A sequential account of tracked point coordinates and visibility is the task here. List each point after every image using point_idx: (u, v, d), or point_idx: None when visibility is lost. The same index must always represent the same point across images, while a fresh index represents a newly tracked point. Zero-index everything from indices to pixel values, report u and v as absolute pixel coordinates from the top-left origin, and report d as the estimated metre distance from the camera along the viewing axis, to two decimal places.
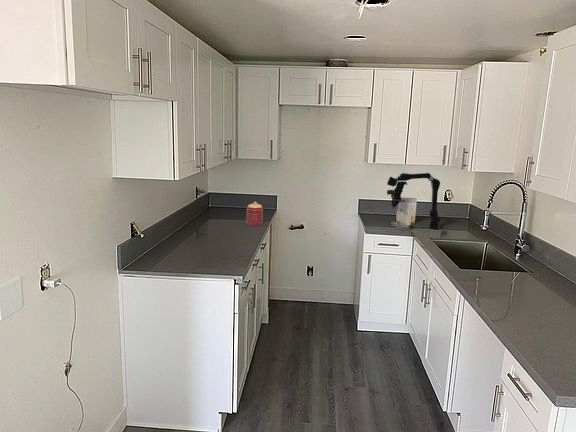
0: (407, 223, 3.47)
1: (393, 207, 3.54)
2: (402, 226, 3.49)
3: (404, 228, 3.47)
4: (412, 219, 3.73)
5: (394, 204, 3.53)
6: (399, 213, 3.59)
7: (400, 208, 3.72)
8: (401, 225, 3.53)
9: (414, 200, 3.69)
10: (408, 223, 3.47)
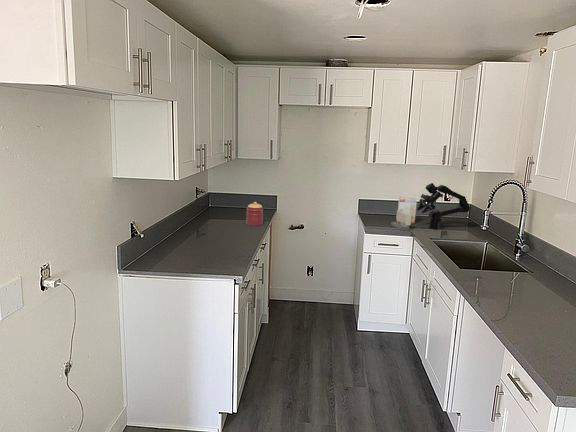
0: (407, 223, 3.47)
1: (422, 212, 3.49)
2: (402, 226, 3.49)
3: (404, 228, 3.47)
4: (412, 219, 3.73)
5: (425, 210, 3.48)
6: (399, 213, 3.59)
7: (400, 208, 3.72)
8: (401, 225, 3.53)
9: (414, 200, 3.69)
10: (408, 223, 3.47)
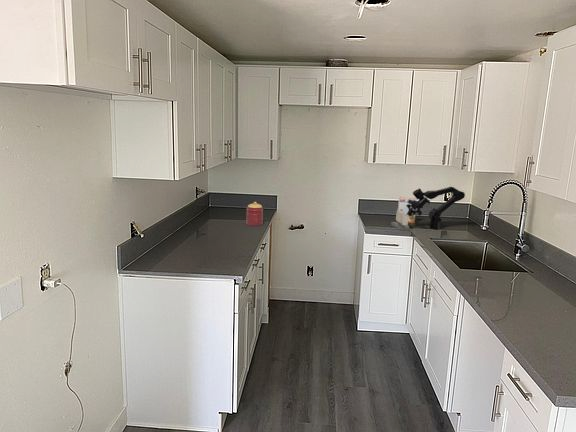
0: (404, 223, 3.47)
1: None
2: (402, 226, 3.49)
3: (404, 228, 3.47)
4: (412, 219, 3.73)
5: (409, 214, 3.52)
6: (398, 213, 3.59)
7: (400, 208, 3.72)
8: (401, 225, 3.53)
9: None
10: (405, 223, 3.47)
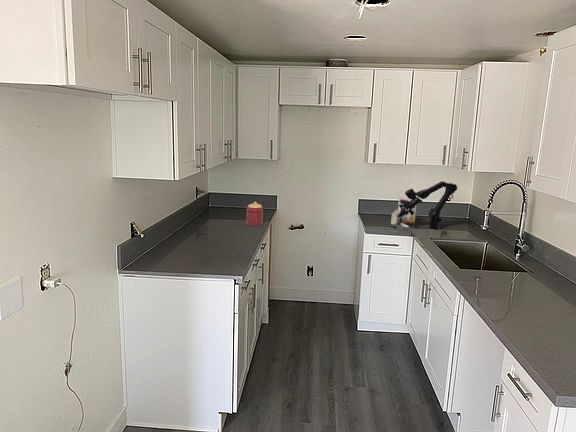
0: (392, 222, 3.50)
1: (398, 216, 3.52)
2: (402, 226, 3.49)
3: (404, 228, 3.47)
4: (412, 219, 3.73)
5: (401, 214, 3.51)
6: None
7: (400, 208, 3.72)
8: (401, 225, 3.53)
9: None
10: (394, 222, 3.49)
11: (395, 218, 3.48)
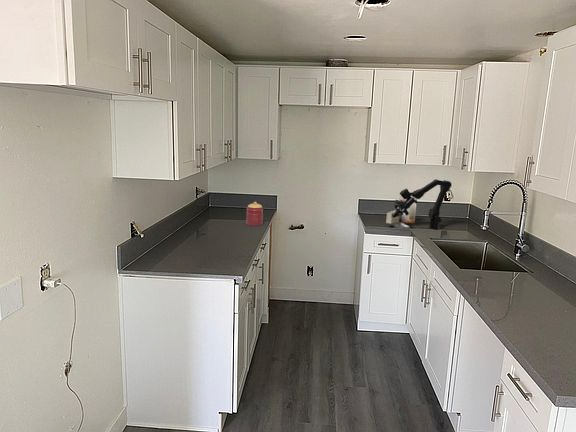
0: (388, 221, 3.52)
1: (393, 216, 3.51)
2: (402, 226, 3.49)
3: (404, 228, 3.47)
4: (412, 219, 3.73)
5: (396, 214, 3.50)
6: None
7: None
8: (401, 225, 3.53)
9: None
10: (389, 221, 3.51)
11: (390, 217, 3.50)
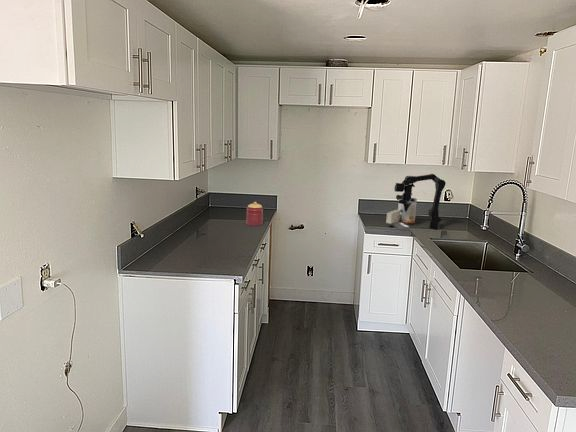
0: (388, 221, 3.52)
1: (405, 211, 3.54)
2: (402, 226, 3.49)
3: (404, 228, 3.47)
4: (412, 219, 3.73)
5: (405, 207, 3.53)
6: None
7: (400, 208, 3.72)
8: (401, 225, 3.53)
9: None
10: (389, 221, 3.51)
11: (390, 217, 3.50)
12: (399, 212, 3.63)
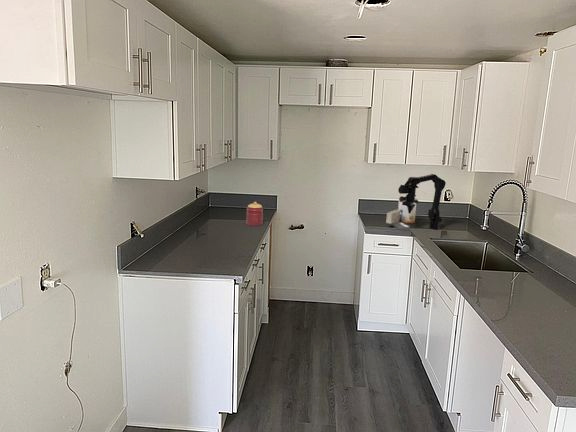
0: (388, 221, 3.52)
1: (409, 212, 3.48)
2: (402, 226, 3.49)
3: (404, 228, 3.47)
4: (412, 219, 3.73)
5: (409, 209, 3.47)
6: None
7: (400, 208, 3.72)
8: (401, 225, 3.53)
9: None
10: (389, 221, 3.51)
11: (390, 217, 3.50)
12: (399, 212, 3.63)
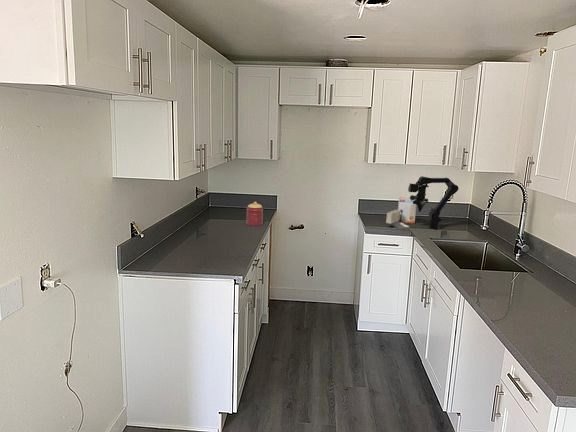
0: (388, 221, 3.52)
1: (419, 211, 3.55)
2: (402, 226, 3.49)
3: (404, 228, 3.47)
4: (412, 219, 3.73)
5: (419, 208, 3.54)
6: None
7: (400, 208, 3.72)
8: (401, 225, 3.53)
9: None
10: (389, 221, 3.51)
11: (390, 217, 3.50)
12: (399, 212, 3.63)
